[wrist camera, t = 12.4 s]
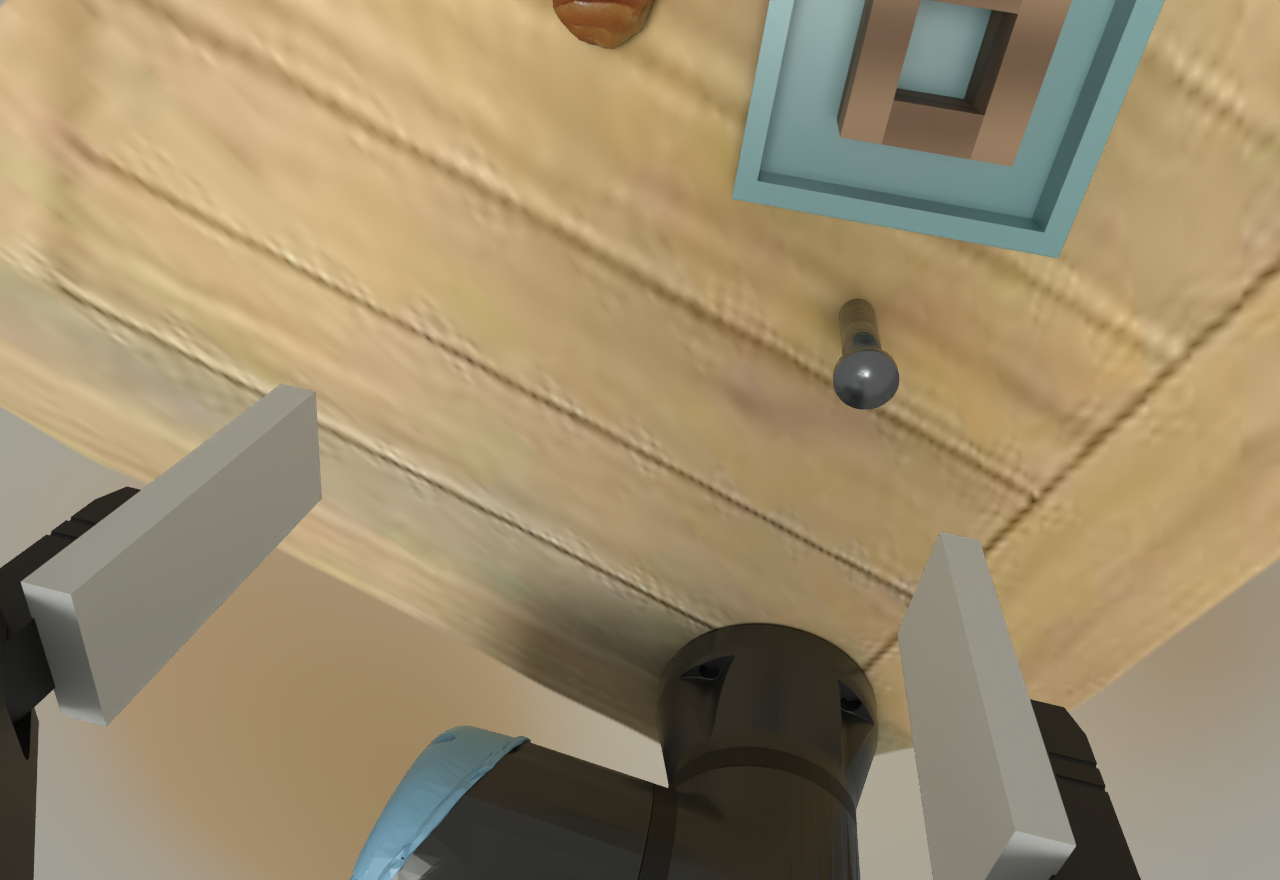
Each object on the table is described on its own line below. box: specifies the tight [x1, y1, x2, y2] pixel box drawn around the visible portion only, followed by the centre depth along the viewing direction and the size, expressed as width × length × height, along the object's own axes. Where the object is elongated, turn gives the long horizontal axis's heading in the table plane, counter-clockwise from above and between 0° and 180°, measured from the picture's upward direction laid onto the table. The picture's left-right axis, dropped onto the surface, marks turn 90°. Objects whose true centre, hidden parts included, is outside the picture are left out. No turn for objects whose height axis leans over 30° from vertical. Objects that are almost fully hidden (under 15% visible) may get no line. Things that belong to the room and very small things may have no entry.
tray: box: [732, 0, 1165, 258], centre depth 35 cm, size 15×15×3 cm
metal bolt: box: [833, 299, 899, 409], centre depth 39 cm, size 3×3×8 cm
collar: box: [837, 0, 1072, 167], centre depth 34 cm, size 7×7×5 cm
